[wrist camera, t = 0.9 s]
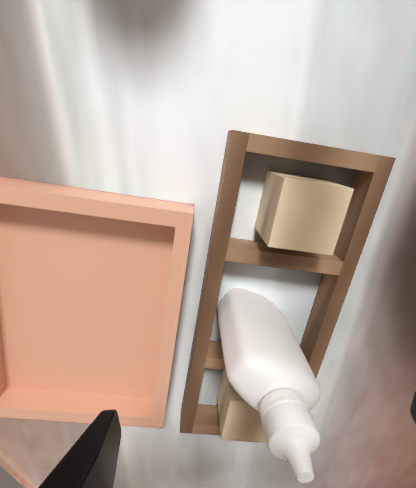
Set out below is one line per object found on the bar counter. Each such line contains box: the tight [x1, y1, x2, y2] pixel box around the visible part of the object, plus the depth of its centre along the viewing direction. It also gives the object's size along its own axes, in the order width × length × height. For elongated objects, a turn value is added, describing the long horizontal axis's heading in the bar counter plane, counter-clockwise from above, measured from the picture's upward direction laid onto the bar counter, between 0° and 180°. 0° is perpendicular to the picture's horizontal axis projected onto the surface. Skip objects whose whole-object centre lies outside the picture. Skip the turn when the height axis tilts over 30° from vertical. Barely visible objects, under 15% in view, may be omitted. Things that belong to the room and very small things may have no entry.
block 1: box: [217, 370, 267, 443], centre depth 24 cm, size 4×4×4 cm
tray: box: [0, 177, 194, 428], centre depth 21 cm, size 14×18×2 cm
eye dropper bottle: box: [217, 288, 320, 483], centre depth 17 cm, size 4×6×12 cm
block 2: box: [255, 170, 354, 255], centre depth 18 cm, size 4×4×4 cm
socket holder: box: [180, 130, 395, 435], centre depth 22 cm, size 10×24×2 cm, turn 171°
